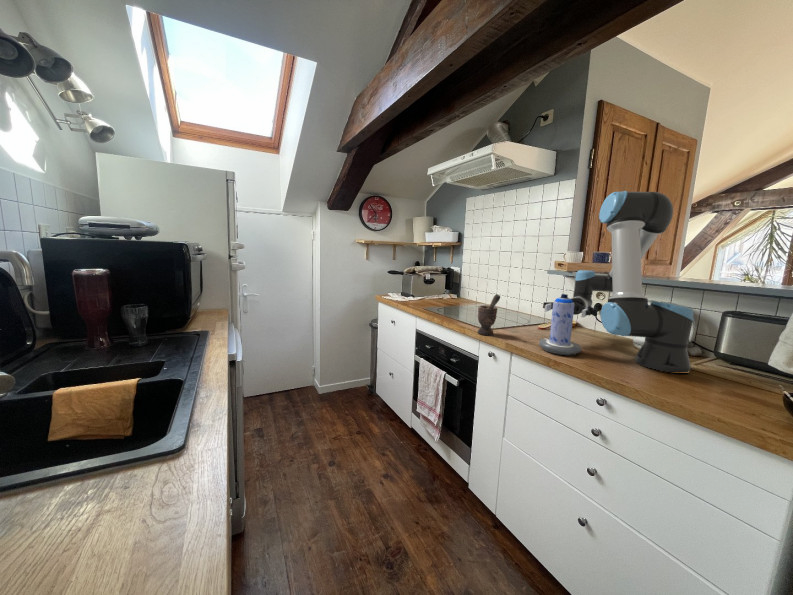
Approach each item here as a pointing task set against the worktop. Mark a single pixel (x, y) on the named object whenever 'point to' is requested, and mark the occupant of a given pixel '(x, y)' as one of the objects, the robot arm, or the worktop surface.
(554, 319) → the aerosol can
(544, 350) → the turntable base
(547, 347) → the disc
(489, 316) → the mortar and pestle
